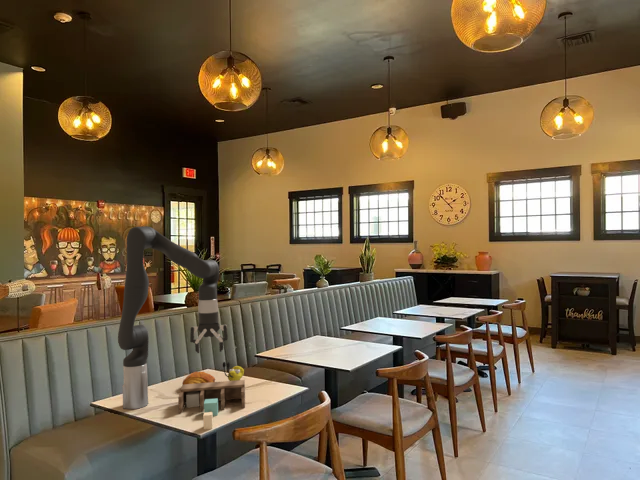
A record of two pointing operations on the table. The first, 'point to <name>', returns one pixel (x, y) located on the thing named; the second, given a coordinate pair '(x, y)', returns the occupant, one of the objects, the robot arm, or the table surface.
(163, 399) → the table surface
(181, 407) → the lane shelf
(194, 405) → the plain block
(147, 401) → the robot arm
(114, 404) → the table surface
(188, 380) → the croissant
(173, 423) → the table surface
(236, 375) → the toy
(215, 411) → the block
